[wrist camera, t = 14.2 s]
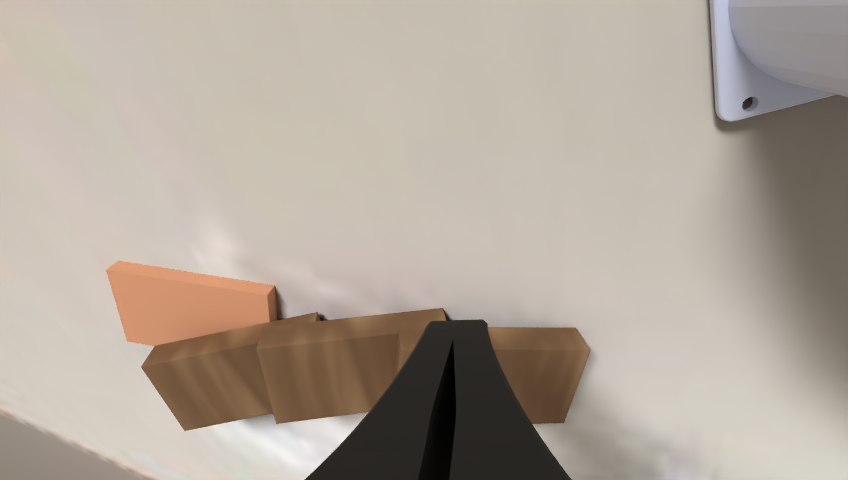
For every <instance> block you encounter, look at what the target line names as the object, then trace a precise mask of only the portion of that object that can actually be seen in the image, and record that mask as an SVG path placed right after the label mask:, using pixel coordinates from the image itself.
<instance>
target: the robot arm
mask: <svg viewBox="0 0 848 480" xmlns="http://www.w3.org/2000/svg"><path fill="white" fill-rule="evenodd" d="M710 17H711V35H712V54H713V72H714V90H715V109H716V114H717V116H718V117H719V118H720V119H722V120H725V121H728V122H733V121H738V120H742V119H746V118H749V117H753V116H757V115H761V114H765V113H769V112H772V111H776V110H780V109H784V108H788V107H792V106H796V105H799V104H803V103H807V102H811V101H815V100H819V99H822V98H826V97H830V96H834V95H842V96H846V97H848V0H710ZM749 97H752V99H753V102H752V105H751V106H750V107H749V108H747V109H744V110H743V108H742V105H743V102H744V101H745V100H746V99H747V98H749ZM305 480H571V478H570V477H569V476H568V475H567V473H566V472H565V471H564V469H563V468H562V467H561V465H560V464H559V463H558V461H557V460H556V458H555V457H554V456H553V454H552V453H551V452H550V450H549V449H548V447H547V446H546V444H545V443H544V441H543V440H542V438H541V437H540V436H539V434H538V433H537V431H536V429H535V428H534V426H533V425H532V423H531V422H530V420H529V418H528V417H527V415H526V413H525V412H524V410H523V408H522V406H521V405H520V403H519V401H518V400H517V398H516V396H515V394H514V392H513V390H512V388H511V387H510V385H509V383H508V380H507V378H506V376H505V374H504V372H503V370H502V368H501V366H500V364H499V361H498V359H497V357H496V354H495V351H494V349H493V346H492V343H491V340H490V336H489V332H488V325H487V323H486V322H485V321H484V320H450V321H431V322H430V323H429V324H428V325H427V326H426V328H425V330H424V332H423V334H422V336H421V337H420V339H419V341H418V343H417V344H416V346H415V348H414V349H413V351H412V353H411V354H410V356H409V357H408V359H407V360H406V362H405V363H404V365H403V366H402V368H401V369H400V371H399V372H398V374H397V375H396V377H395V378H394V380H393V381H392V383H391V384H390V385H389V387H388V388H387V389H386V391H385V392H384V393H383V395H382V396H381V397H380V399H379V400H378V401H377V402H376V404H375V405H374V406H373V408H372V409H371V410H370V411H369V413H368V414H367V415H366V416H365V417H364V419H363V420H362V421H361V422H360V423H359V425H358V426H357V427H356V428H355V429H354V430H353V431H352V432H351V434H350V435H349V436H348V437H347V438H346V439H345V440H344V441H343V442H342V443H341V444H340V446H339V447H338V448H337V449H336V450H335V451H334V452H333V453H332V454H331V455H330V456H329V457H328V458H327V459H326V460H325V461H324V462H323V463H322V464H321V465H320V466H319V467H318V468H317V469H316V470H315V471H313V472H312V473H311V474H310V475H309V476H308V477H307V478H306V479H305Z"/></svg>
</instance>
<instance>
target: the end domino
mask: <svg viewBox="0 0 848 480" xmlns="http://www.w3.org/2000/svg"><path fill="white" fill-rule="evenodd" d="M106 271H107V274H108V278H109V281H110V285H111V288H112V291H113V295H114V298H115V301H116V305H117V308H118V312H119V315H120V318H121V322H122V325H123V329H124V332H125V335H126V339H127V341H128V342H134V343H140V344H146V345H152V346H155V345H160V344H165V343H170V342H175V341H180V340H185V339H190V338H194V337H199V336H204V335H209V334H214V333H219V332H224V331H229V330H233V329H238V328H243V327H248V326H253V325H258V324H263V323H267V322H272V321H277V308H276V296H275V285H268V284H262V283H256V282H250V281H243V280H237V279H231V278H224V277H218V276H212V275H205V274H199V273H193V272H186V271H180V270H174V269H167V268H161V267H155V266H148V265H142V264H136V263H129V262H123V261H118V262H117V263H115V264H114V265H112V266H111V267H109V268H108V269H106Z"/></svg>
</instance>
